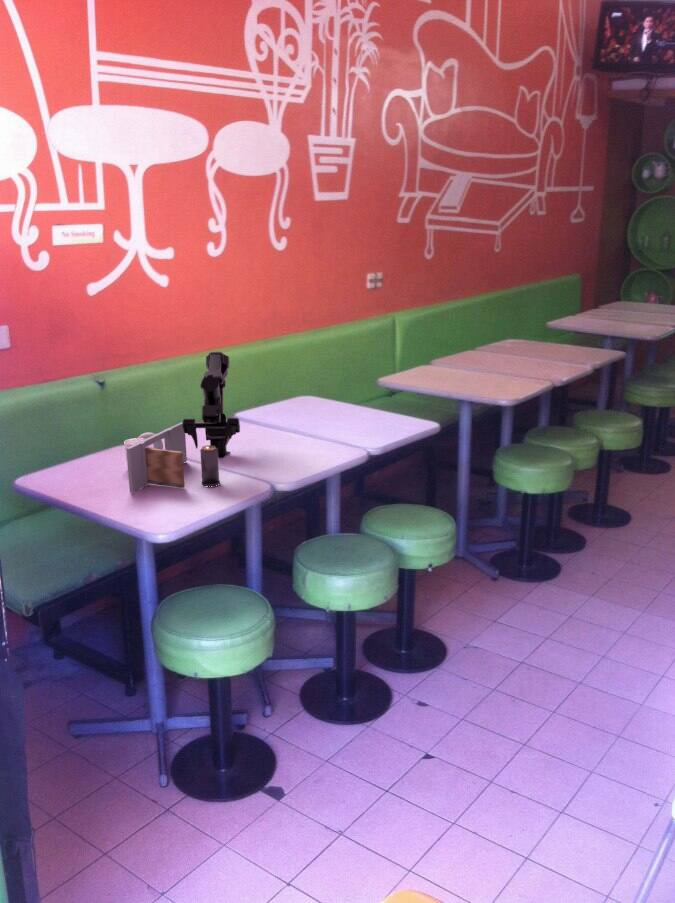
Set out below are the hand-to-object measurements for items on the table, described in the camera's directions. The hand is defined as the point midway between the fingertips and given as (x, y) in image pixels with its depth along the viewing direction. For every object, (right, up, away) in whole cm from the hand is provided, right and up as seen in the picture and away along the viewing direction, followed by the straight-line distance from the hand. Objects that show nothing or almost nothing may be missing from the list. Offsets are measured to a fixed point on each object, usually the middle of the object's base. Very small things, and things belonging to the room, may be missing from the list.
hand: (210, 447), depth 283 cm
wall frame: (-18, -10, +7) cm, 22 cm away
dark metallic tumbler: (0, -12, -1) cm, 12 cm away
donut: (-26, -4, +26) cm, 37 cm away
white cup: (-28, -7, +15) cm, 32 cm away
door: (-15, -12, -3) cm, 19 cm away
